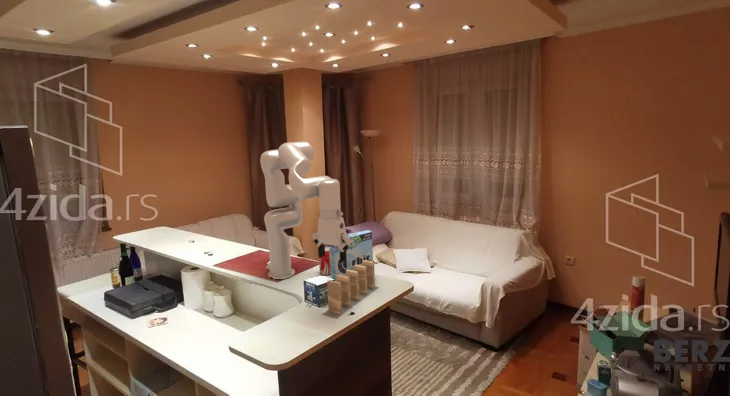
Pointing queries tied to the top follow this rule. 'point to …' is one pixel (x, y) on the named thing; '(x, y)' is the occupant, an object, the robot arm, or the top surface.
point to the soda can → (325, 263)
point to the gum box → (351, 253)
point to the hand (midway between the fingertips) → (332, 258)
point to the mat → (353, 303)
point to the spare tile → (334, 296)
